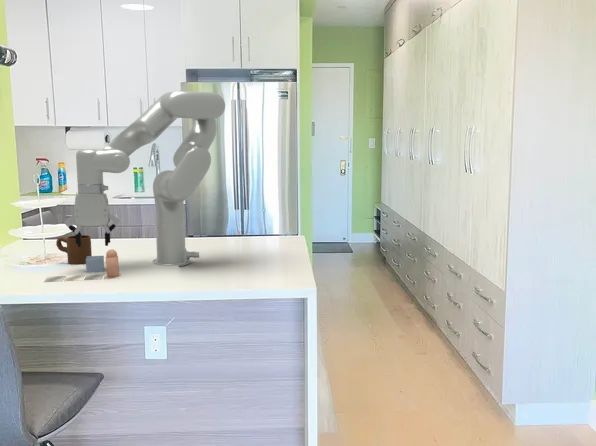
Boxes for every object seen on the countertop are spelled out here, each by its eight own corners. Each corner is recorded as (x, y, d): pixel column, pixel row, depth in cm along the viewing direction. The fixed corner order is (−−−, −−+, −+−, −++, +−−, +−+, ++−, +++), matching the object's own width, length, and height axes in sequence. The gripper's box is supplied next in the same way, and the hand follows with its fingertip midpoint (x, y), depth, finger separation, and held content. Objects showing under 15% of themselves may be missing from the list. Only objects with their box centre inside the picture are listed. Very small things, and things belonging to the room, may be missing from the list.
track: (123, 275, 176) (123, 272, 175) (122, 281, 169) (122, 278, 169) (47, 279, 170) (47, 276, 170) (43, 285, 164) (42, 282, 163)
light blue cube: (104, 270, 182) (103, 255, 181) (103, 274, 177) (102, 258, 176) (87, 271, 180) (87, 256, 180) (86, 275, 176) (85, 259, 175)
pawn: (120, 274, 174) (118, 248, 172) (118, 276, 170) (116, 250, 169) (107, 274, 173) (105, 248, 172) (106, 277, 169) (104, 251, 168)
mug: (51, 265, 187) (49, 237, 186) (64, 260, 195) (62, 234, 193) (84, 267, 185) (82, 239, 184) (96, 262, 193) (95, 235, 191)
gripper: (120, 188, 180) (122, 242, 183) (62, 189, 176) (65, 244, 179) (119, 190, 173) (121, 246, 176) (58, 191, 169) (62, 249, 172)
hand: (93, 245), depth 177 cm, fingers open, 7 cm apart
